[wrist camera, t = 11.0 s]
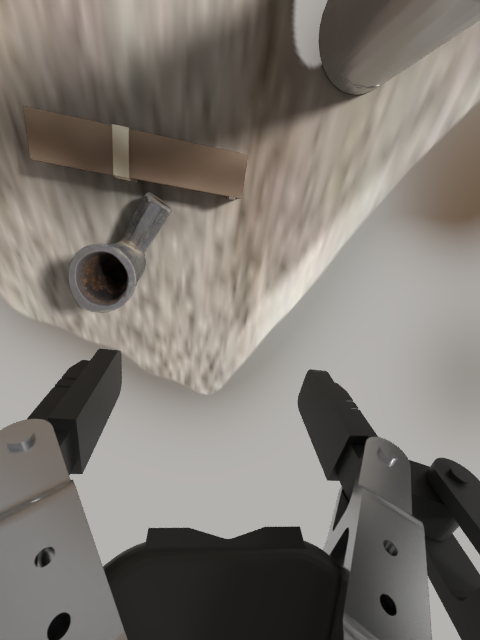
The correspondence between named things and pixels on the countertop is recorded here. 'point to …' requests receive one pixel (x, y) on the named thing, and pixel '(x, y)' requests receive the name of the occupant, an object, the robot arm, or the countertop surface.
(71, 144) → the banded brown beam
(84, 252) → the pipe
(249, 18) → the countertop surface
